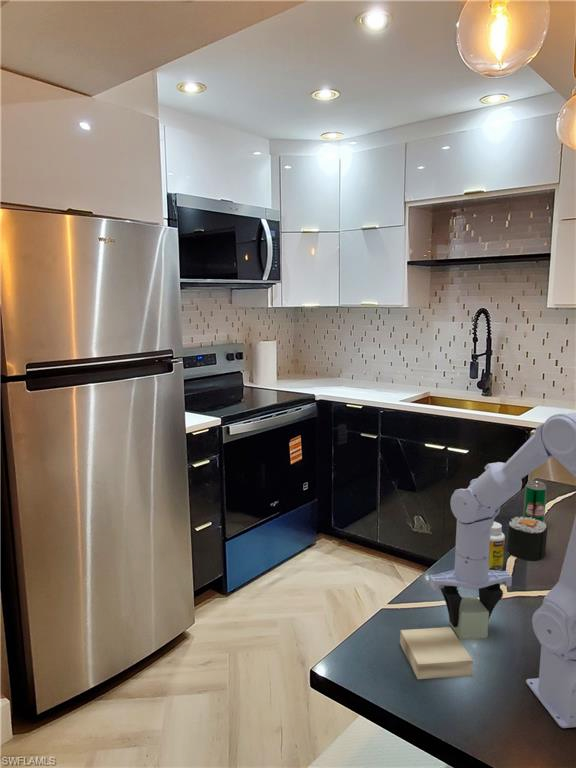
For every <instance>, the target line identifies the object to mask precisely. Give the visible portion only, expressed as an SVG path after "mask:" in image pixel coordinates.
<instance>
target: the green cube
mask: <svg viewBox="0 0 576 768" xmlns="http://www.w3.org/2000/svg"><path fill="white" fill-rule="evenodd" d="M461 597H462V600H461V603H460V608H459V620H458V626H457V627H453V625H452V624H451V622H450V620H449V621H448V624H449V625H450V627H451V629H452V630H453V632H454V633H455V635H456V636H457V638H458V639H459V641H460V640H473V639H488V636H489V635H488V633H489V621H488V620H490V618H489V611H488V610H487V609H486V608H485V606H484V605H483V604H482V603H481V602H480V600H479V597H477V596H466V597H465V596H464V597H463V596H461Z"/></svg>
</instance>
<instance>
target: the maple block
mask: <svg viewBox="0 0 576 768" xmlns="http://www.w3.org/2000/svg"><path fill="white" fill-rule="evenodd" d="M399 634H400V636H399V645H400V646H401V648H402V650H403V652H404V654H405V657H406V659H407V661H408V663H409V664H410V667H411V669H412V671H413V673H414V675H415V677H416V679H417V680H424V679H425V680H426V679H427V680H428V679H439V678H452V677H465V676H473V667H474V666H473V665H474V664H473V662H474V660H473V659H472V657H471V656H470V654H469V653H468V651H467V650H466V648H465V647H464V645H463V643H462V642H461V641H460V638H459V637H458V635H457V634H456V632H455V631H454V629H453V628H452V626H444V627H443V626H442V627H430V628H414V629H412V628H411V629H400V633H399Z"/></svg>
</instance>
